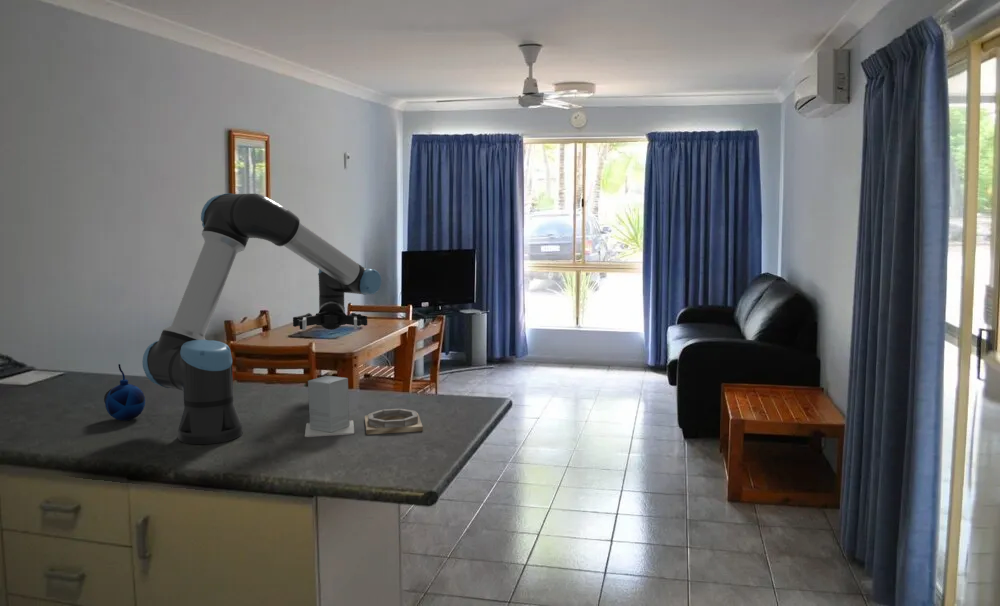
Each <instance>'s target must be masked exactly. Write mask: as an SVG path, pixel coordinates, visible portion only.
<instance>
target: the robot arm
mask: <svg viewBox="0 0 1000 606" xmlns="http://www.w3.org/2000/svg"><path fill="white" fill-rule="evenodd" d="M200 221H201V226H202V228H203V229H202V231H201V236H202V238H203V240H204V244H203V246H202V248H201V251H200V253H199V255H198V258H197V260H196V263H195V266H194V268H193V271H192V273H191V276H190V278H189V281H188V282H187V283H188V284H187V286H186V289H185V291H184V293H183V295H182V298H181V300H180V303H179V306H178V308H177V311H176V313H175V316H174V318H173V321H172V323H171V325H170V326H168V327H165V328H163V329H162V331H161V333H160V336H159V338H158V340H156V341H154V342H153V343H150V344H149V345H148V346H147V348H146V349H145V351H144V353H143V356H142V363H141V364H142V369H143V371H144V374H145V376H146V377H147V379H148V380H150V382H152V383H153V384H155V385H157V386H160V387H162V388H163V387H164V388H165V389H174V390H179V391H183V392H182V393H183V411H182V415H181V418H180V421H179V426H178V428H177V435H178V441H180V442H181V443H184V444H190V445H210V444H217V443H223V442H229V441H233V440H234V439H237V438H240V436H241V437H242V435H243V423H242V420H241V419H240V416H239V413H238V411H237V409H236V406H235V403H234V402H235V401H234V400H235V399H234V384H233V383H234V382H233V381H234V379H233V356H232V352H231V351H232V350H231V348H230V347H229V345H228V344H227V343H224V342H222V341H219V340H212V339H211V340H209V339H206V338H205V337H206V334H207V332H208V329H209V326H210V323H211V321H212V318H213V316H214V313H215V310H216V308H217V305H218V303H219V300H220V297H221V295H222V292H223V289H224V287H225V285H226V283H227V282H226V281H227V279H228V277H229V274H230V271H231V270H232V266H233V264H234V261H235V259H236V256H237V254H238V253H240V252H243V251H244V250H246V249H245V248H246V247H247V244H248V241H249V239H258V240H259V239H260V240H265V241H268V242H270V243H271V244H274V245H275V246H277V247H285V248H287V249H288V250H289V251H291V252H293V253H294V254H295V255H297V256H299V257H300V258H302V259H303V260H305V261H306V262H308V263H310V265H312V266H314V267H316V269H318V274H317V276H318V312H317V313H316V314H315V315H313V314H312V313H310V312H308V313H306V314H302V315H299V316H293V317H292V327H299V330H302V331H306V330H307V327H309V326H315V325H316V326H319V327H320V326H321V327H322V328H323V329H325V330H328V331H332V330H336V329H339V328H341V326H345V325H349V326H353V330H358V327H360V326H365V327H366V326H368V316H367V315H363V314H361V313H356V312H355V313H354V312H351V313H349V314H346V313H345V312H346V309H345V308H346V307H345V293H347V294H356V295H357V294H358V295H364V296H366V295H375V294H376V293H378V292H379V291H380V289H381V286H382V281H383V280H382V275H381V274H380V272H379V271H378V270H376V269H372V268H368V267H367V268H366V267H364V266H363V265H361V264H360V263H357V261H355V260H354V259H352V258H351V257H349V256H348V255H346V254H345V253H343V252H342V251H341V250H339V249H338V248H337V247H335V246H334V245H333V244H331V243H329V242H328V241H327V240H325V239H323V238H322V237H321V236H319V235H318V234H317V233H315V232H314V231H312V230H311V229H310V228H308V227H306V226H305V225H304V224H303V223H302V222H301V220H300V218H299V216H298V215H297V214H295V213H293V211H291V210H289V209H287V208H286V207H285V206H283V205H282V204H280V203H279V202H276V201H275V200H273V199H272V198H269V197H268V196H265V195H262V194H258V193H231V192H230V193H229V192H228V193H222V194H218V195H214V196H213V197H211V198H209V199H208V200H207V201H206V203H204V205H203V207H202V210H201V212H200Z"/></svg>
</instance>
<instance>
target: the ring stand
mask: <svg viewBox="0 0 1000 606" xmlns="http://www.w3.org/2000/svg"><path fill="white" fill-rule="evenodd" d="M364 423H365V424H364V427H365V431H366V435H379V434H382V435H383V434H400V433H413V432H415V433H417V432H424V429H423V428H424V426H423V424H422V421H421V417H420V415H419V413H418V412H417V410H412V409H404V408H388V409H387V408H386V409H380V410H376V411H373V412H370V413H368V415H364Z"/></svg>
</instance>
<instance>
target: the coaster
mask: <svg viewBox="0 0 1000 606" xmlns="http://www.w3.org/2000/svg"><path fill="white" fill-rule="evenodd" d="M346 435H355V426H354V419H353V420H350V426H348V427H345V428H342V429H339V430H336V431H333V432H326V431H320V430H315V429H310V422H306V425H305V431H304V437H305V438H312V437H328V436H329V437H330V436H332V437H333V436H346Z"/></svg>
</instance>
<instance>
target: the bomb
mask: <svg viewBox="0 0 1000 606" xmlns="http://www.w3.org/2000/svg"><path fill="white" fill-rule="evenodd" d="M118 370H119V372H120V373H121V375H122V379H120V381H119V384H118V385H116V386H114V387H112V388H110V389H109V390H107V392H106V393H105V394H104V399H103V402H104V404H105V409H106V412H107V413H108V415H109V416H111V418H113V419H114V420H118V421H122V422H126V421H132V420H134V419H136V418H138V416H140V415H141V414H142V413H143V411H144V409H145V406H146V396H145V395H144V394H145V393H144V392H143V391H142V389H140V388H139V386H136V385H134V384H132V383H129V380H128V379H126V377H125V376H126V375H125V372H124V371H123V370H122V366H121V364H120V363H118Z"/></svg>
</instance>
